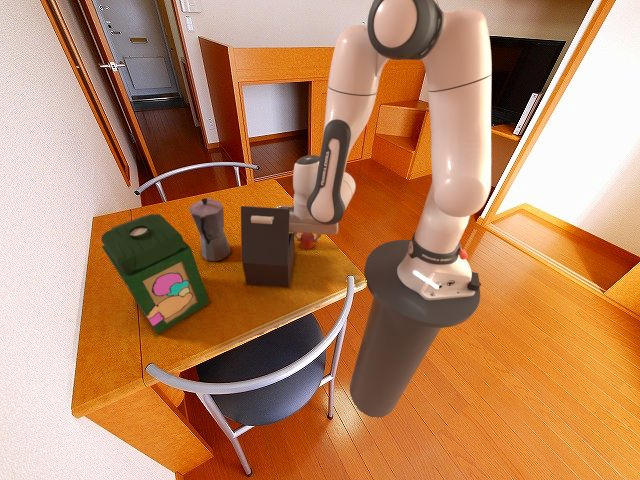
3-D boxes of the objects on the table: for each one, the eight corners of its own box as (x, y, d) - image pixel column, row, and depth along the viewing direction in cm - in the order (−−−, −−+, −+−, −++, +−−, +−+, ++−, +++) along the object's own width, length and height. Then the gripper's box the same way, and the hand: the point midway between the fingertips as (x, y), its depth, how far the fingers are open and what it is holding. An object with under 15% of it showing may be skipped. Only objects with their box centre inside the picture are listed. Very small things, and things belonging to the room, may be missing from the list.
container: (185, 271, 84) (157, 201, 68) (216, 305, 75) (193, 234, 59) (133, 298, 75) (88, 225, 59) (161, 340, 66) (117, 268, 50)
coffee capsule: (313, 241, 97) (314, 232, 94) (313, 249, 94) (313, 240, 91) (301, 240, 97) (301, 231, 95) (300, 248, 94) (300, 239, 91)
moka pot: (232, 237, 97) (221, 186, 84) (232, 267, 86) (220, 215, 73) (203, 240, 95) (188, 189, 82) (200, 272, 84) (181, 219, 71)
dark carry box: (257, 251, 92) (254, 230, 86) (294, 253, 92) (294, 233, 86) (246, 284, 81) (242, 263, 75) (288, 287, 81) (287, 266, 75)
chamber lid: (241, 205, 71) (235, 208, 66) (289, 208, 71) (287, 212, 66) (242, 261, 75) (236, 268, 70) (288, 264, 75) (285, 271, 70)
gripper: (272, 210, 83) (275, 245, 92) (340, 214, 83) (336, 248, 92) (276, 199, 88) (278, 233, 97) (340, 203, 88) (336, 237, 97)
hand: (307, 241), depth 94 cm, fingers closed on coffee capsule, 4 cm apart
